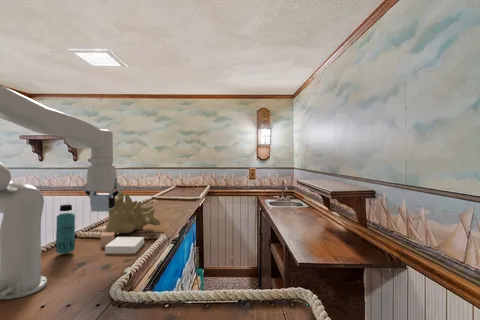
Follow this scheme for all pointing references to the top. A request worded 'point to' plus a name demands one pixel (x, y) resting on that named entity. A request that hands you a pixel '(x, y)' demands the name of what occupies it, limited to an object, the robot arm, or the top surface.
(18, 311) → the top surface
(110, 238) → the terracotta block
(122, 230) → the decorative coral
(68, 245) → the beverage bottle
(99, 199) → the grey-blue cube
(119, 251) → the pedestal
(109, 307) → the top surface
